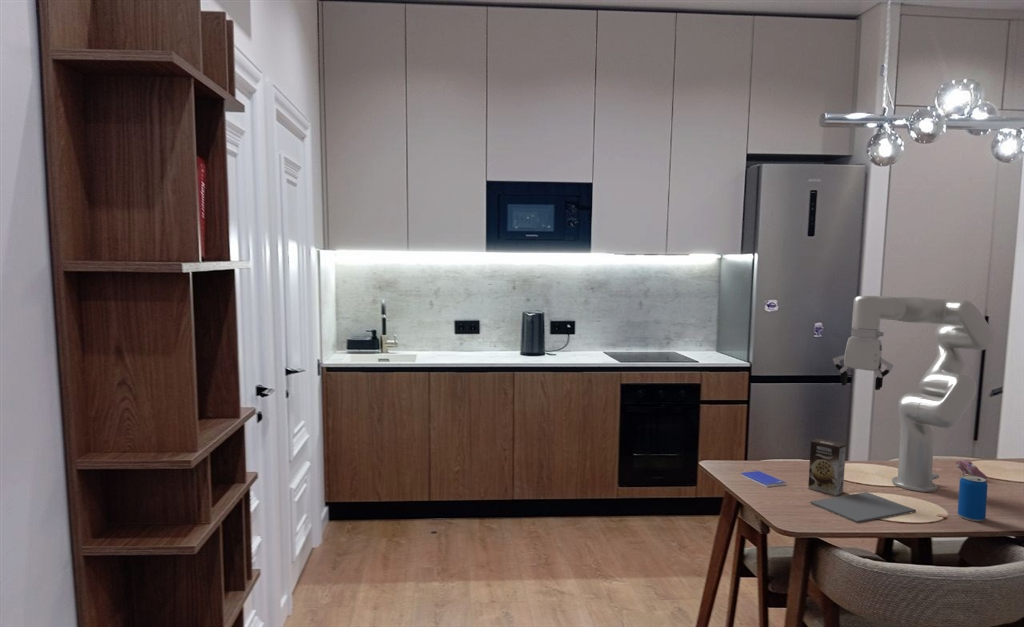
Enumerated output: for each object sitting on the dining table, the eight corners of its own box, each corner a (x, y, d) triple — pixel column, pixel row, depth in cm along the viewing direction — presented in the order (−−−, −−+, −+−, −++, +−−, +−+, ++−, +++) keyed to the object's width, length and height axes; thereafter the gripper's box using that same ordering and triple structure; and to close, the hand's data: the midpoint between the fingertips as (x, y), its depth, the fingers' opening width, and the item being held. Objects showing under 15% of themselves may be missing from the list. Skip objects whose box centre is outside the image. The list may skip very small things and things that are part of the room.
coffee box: (807, 488, 200) (809, 440, 199) (815, 484, 204) (817, 437, 203) (836, 496, 193) (839, 446, 192) (844, 491, 197) (846, 443, 196)
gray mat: (866, 493, 196) (866, 492, 196) (915, 511, 181) (915, 509, 181) (809, 503, 186) (809, 501, 186) (856, 522, 172) (856, 520, 172)
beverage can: (990, 523, 173) (992, 482, 173) (965, 521, 174) (967, 480, 174) (977, 514, 180) (979, 475, 179) (953, 513, 181) (955, 473, 180)
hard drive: (786, 481, 203) (759, 470, 215) (766, 483, 201) (741, 472, 212) (785, 486, 203) (759, 475, 215) (766, 488, 201) (740, 477, 212)
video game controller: (959, 476, 221) (951, 459, 221) (972, 471, 220) (963, 454, 220) (976, 485, 211) (967, 467, 211) (989, 480, 211) (980, 462, 211)
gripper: (898, 336, 190) (894, 390, 190) (839, 331, 202) (835, 382, 203) (892, 337, 184) (888, 392, 185) (831, 332, 197) (827, 384, 197)
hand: (860, 387), depth 194 cm, fingers open, 9 cm apart
